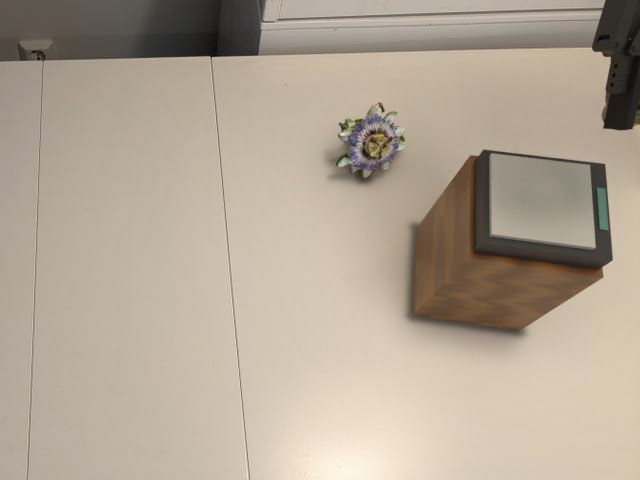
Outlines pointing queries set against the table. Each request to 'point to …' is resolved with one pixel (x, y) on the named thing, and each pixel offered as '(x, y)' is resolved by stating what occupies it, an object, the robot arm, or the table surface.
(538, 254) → the kitchen scale
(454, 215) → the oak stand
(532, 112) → the table surface
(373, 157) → the passion flower
